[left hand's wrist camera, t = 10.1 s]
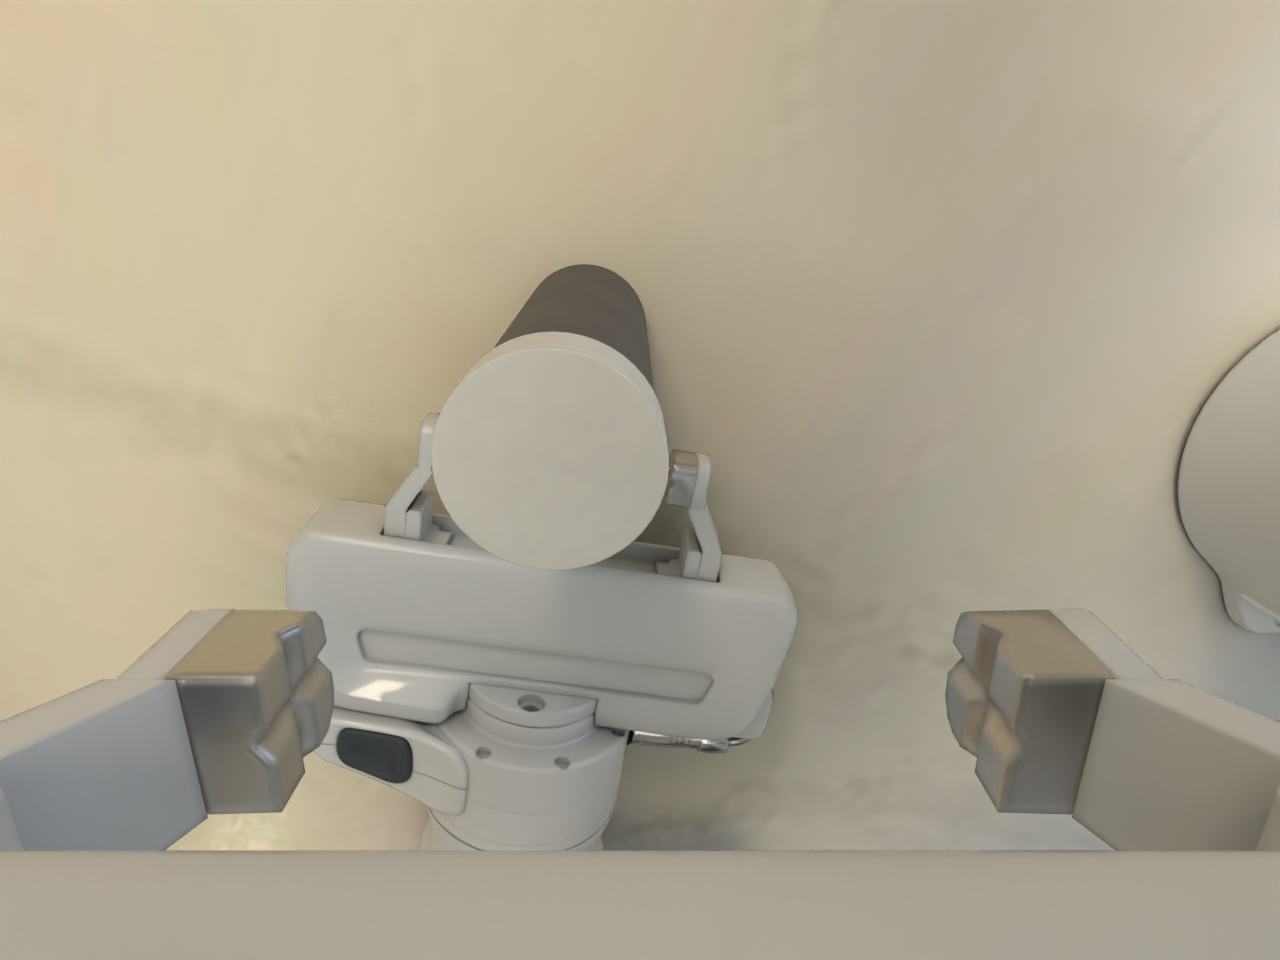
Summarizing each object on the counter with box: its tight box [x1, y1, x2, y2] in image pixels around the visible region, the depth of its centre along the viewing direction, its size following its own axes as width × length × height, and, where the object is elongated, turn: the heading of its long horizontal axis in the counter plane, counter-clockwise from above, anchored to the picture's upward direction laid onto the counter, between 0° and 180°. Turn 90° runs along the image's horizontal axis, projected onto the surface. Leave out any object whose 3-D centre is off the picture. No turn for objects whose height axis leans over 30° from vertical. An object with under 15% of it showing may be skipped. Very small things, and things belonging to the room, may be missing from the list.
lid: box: [431, 332, 669, 570], centre depth 19 cm, size 6×6×2 cm
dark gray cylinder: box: [494, 264, 653, 389], centre depth 26 cm, size 5×5×16 cm
